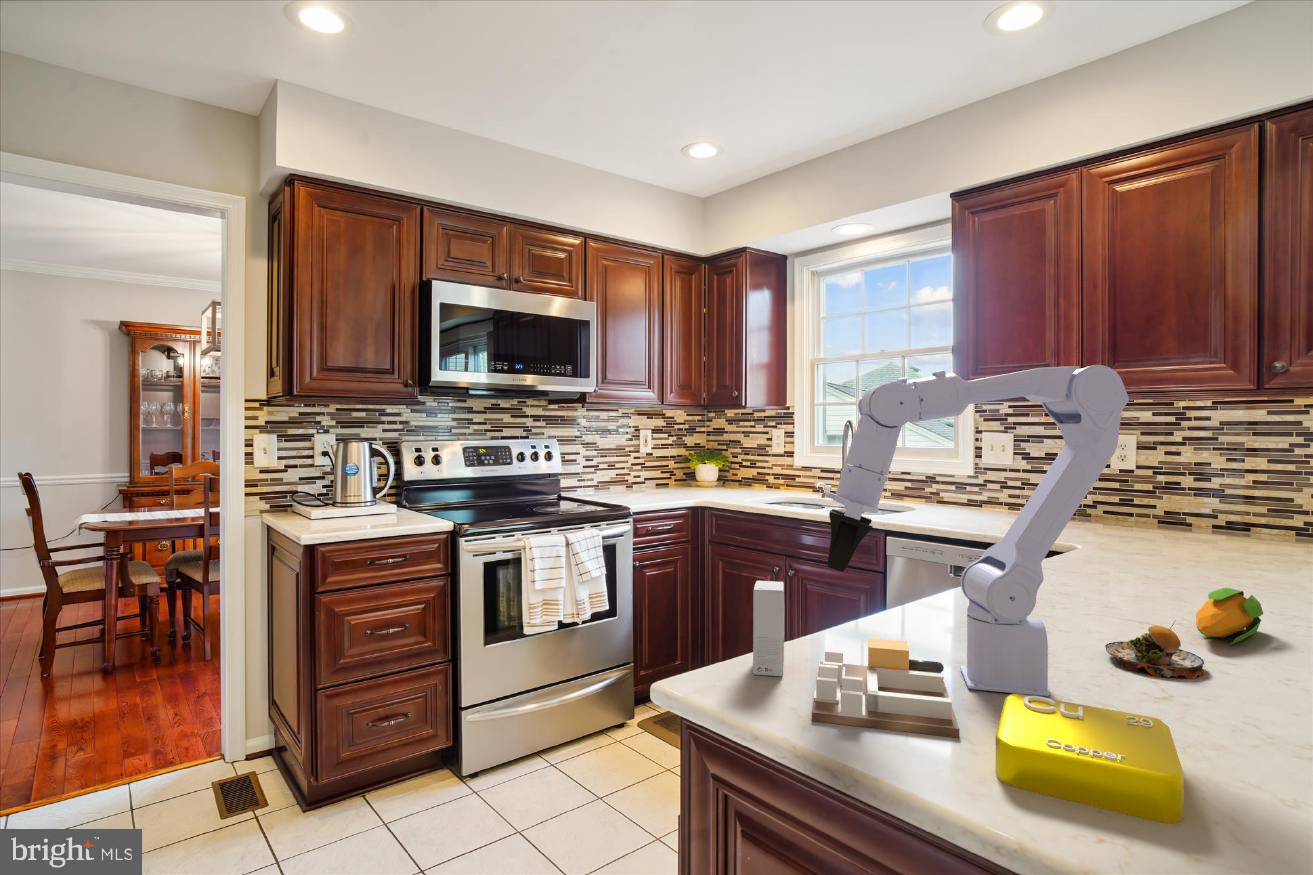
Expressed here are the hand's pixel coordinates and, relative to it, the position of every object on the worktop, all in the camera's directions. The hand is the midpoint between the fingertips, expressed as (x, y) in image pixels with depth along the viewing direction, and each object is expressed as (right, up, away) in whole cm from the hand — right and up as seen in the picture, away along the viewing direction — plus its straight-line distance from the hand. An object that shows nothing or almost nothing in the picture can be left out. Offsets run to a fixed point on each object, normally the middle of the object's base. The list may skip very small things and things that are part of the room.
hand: (836, 565), depth 93 cm
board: (+4, -16, -6) cm, 17 cm away
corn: (+68, -15, +18) cm, 72 cm away
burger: (+47, -16, +6) cm, 50 cm away
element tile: (+19, -16, -24) cm, 35 cm away
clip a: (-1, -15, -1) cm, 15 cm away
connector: (+8, -15, -3) cm, 17 cm away
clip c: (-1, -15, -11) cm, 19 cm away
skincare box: (-8, -16, +5) cm, 18 cm away
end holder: (+7, -15, -9) cm, 19 cm away
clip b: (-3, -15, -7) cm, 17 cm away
